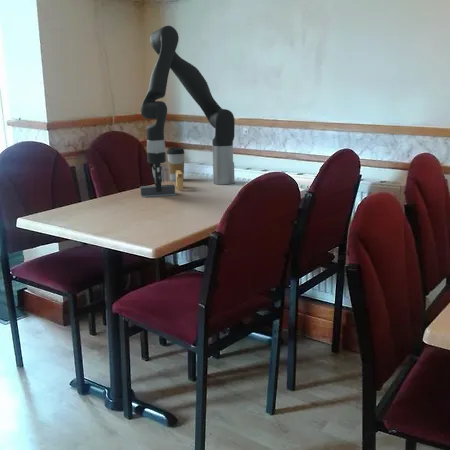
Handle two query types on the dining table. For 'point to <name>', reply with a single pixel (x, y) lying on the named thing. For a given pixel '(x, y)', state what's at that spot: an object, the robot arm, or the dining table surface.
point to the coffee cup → (175, 161)
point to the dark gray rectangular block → (152, 190)
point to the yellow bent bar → (179, 180)
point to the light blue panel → (158, 195)
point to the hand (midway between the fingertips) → (158, 189)
